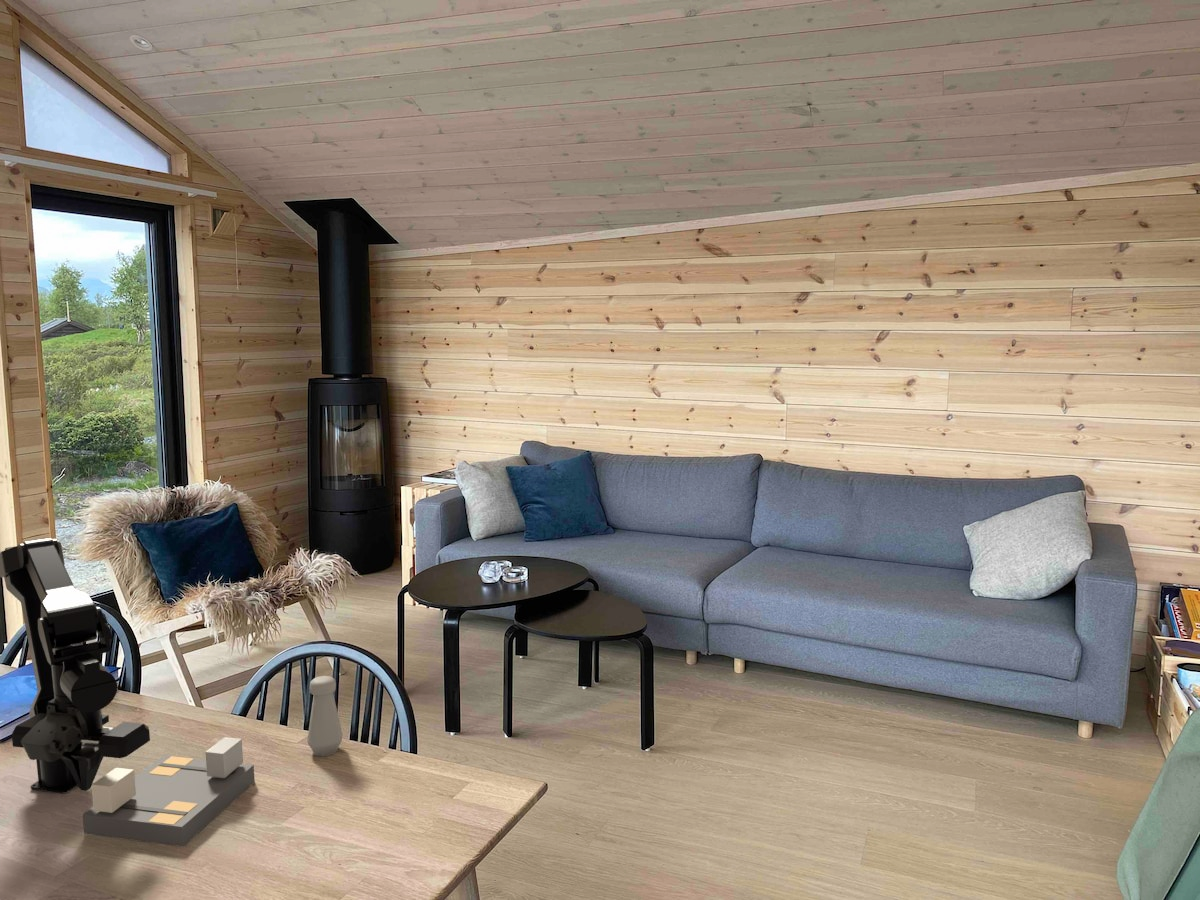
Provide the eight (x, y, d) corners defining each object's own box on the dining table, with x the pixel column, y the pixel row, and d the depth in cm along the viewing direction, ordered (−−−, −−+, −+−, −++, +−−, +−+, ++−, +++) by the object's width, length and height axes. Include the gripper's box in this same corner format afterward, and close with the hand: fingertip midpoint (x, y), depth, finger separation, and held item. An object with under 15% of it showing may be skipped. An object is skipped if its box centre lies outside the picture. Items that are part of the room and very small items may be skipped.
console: (84, 833, 133) (82, 813, 132) (165, 772, 150) (164, 754, 149) (183, 846, 129) (181, 825, 129) (254, 782, 147) (253, 763, 146)
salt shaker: (332, 760, 154) (329, 687, 152) (301, 757, 155) (297, 684, 153) (349, 744, 160) (346, 673, 158) (318, 741, 161) (315, 670, 159)
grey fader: (207, 776, 142) (205, 751, 141) (226, 760, 147) (224, 737, 146) (224, 778, 141) (223, 753, 141) (243, 762, 146) (241, 738, 146)
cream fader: (93, 810, 132) (91, 784, 132) (118, 792, 137) (116, 767, 136) (112, 812, 132) (109, 786, 131) (136, 794, 136) (134, 769, 136)
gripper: (-26, 706, 127) (-15, 811, 129) (92, 718, 123) (101, 826, 125) (38, 675, 137) (47, 772, 140) (148, 685, 134) (156, 785, 136)
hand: (85, 789), depth 135 cm, fingers closed
